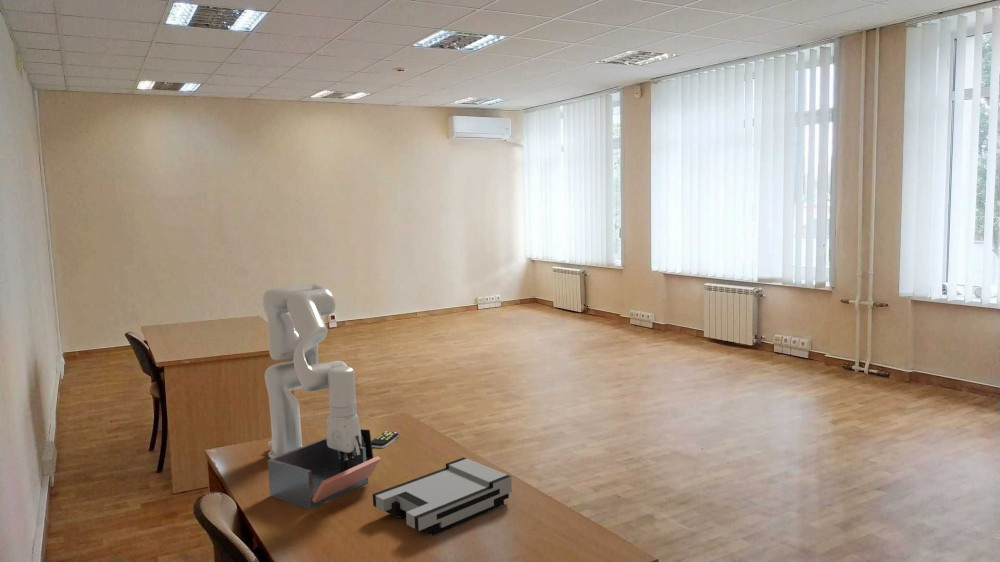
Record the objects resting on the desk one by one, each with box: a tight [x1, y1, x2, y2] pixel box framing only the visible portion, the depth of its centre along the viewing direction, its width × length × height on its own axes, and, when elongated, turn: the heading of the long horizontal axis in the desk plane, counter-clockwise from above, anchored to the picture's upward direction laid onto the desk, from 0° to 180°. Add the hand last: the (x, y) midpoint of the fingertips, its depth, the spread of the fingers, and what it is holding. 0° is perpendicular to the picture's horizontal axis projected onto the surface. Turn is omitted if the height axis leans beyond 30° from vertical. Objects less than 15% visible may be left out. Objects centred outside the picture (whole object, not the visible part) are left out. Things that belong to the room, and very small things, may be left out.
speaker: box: [360, 428, 374, 459], centre depth 235 cm, size 8×6×10 cm
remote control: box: [371, 430, 400, 449], centre depth 253 cm, size 6×13×2 cm, turn 162°
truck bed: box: [267, 436, 369, 510], centre depth 213 cm, size 18×22×11 cm
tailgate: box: [312, 455, 381, 503], centre depth 207 cm, size 1×22×8 cm
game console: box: [372, 456, 513, 537], centre depth 197 cm, size 21×32×8 cm, turn 132°
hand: (346, 471), depth 206 cm, fingers closed
